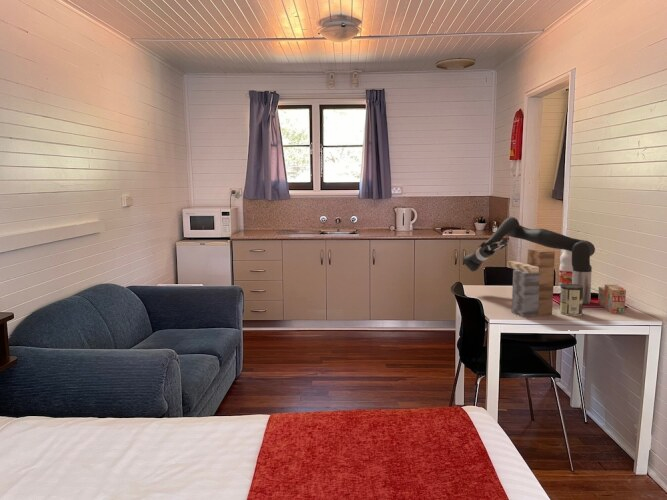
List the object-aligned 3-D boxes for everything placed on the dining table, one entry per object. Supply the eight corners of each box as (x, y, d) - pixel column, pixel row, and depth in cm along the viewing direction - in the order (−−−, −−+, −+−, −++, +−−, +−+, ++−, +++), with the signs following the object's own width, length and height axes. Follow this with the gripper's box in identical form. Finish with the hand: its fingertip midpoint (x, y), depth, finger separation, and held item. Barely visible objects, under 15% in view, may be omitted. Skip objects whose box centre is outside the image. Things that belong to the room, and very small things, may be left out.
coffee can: (571, 310, 263) (573, 283, 261) (586, 315, 253) (588, 286, 251) (554, 311, 260) (556, 284, 258) (569, 316, 250) (570, 288, 249)
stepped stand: (552, 315, 254) (554, 251, 250) (523, 317, 250) (526, 252, 246) (539, 310, 264) (541, 248, 259) (511, 312, 260) (513, 250, 255)
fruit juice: (578, 290, 309) (581, 243, 305) (569, 292, 304) (571, 245, 300) (564, 287, 317) (566, 242, 313) (555, 289, 312) (557, 243, 308)
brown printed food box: (597, 303, 277) (598, 280, 275) (610, 303, 276) (611, 281, 274) (611, 313, 256) (612, 289, 254) (624, 313, 255) (626, 289, 253)
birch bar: (538, 273, 247) (538, 267, 246) (531, 273, 246) (531, 267, 245) (514, 266, 266) (514, 260, 266) (507, 267, 265) (507, 261, 265)
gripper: (472, 246, 290) (486, 234, 276) (494, 245, 294) (509, 233, 280) (475, 258, 288) (489, 247, 273) (497, 257, 291) (513, 246, 277)
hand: (499, 240), depth 277 cm, fingers open, 8 cm apart
